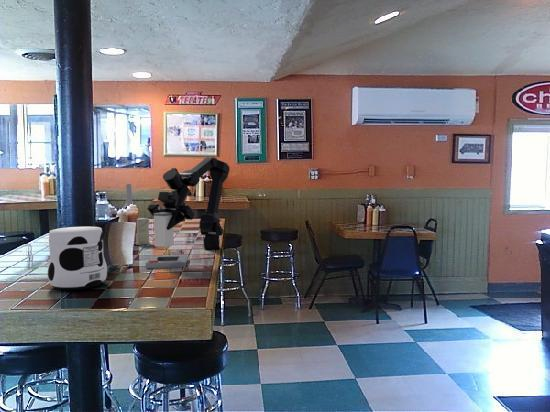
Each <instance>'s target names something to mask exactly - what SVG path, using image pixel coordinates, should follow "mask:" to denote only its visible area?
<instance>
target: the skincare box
mask: <svg viewBox="0 0 550 412" xmlns="http://www.w3.org/2000/svg"><path fill="white" fill-rule="evenodd" d="M137 218H138V219H137V233H136V243H135V244H136V246H140V245H141V246H142V245H147V244H149V245H150V227H149V225H150V224H149V223H150V222H149V218H146V217H137ZM135 244H134V245H135Z"/></svg>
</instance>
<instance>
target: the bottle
mask: <svg viewBox="0 0 550 412" xmlns="http://www.w3.org/2000/svg"><path fill="white" fill-rule="evenodd" d="M125 184H126V186H125V188H126V201H125V202H126V203H125V204H124V205H123V208H122V210H123V209H124V208H126V207H127V206H129V205H130V204H133V205H135V204H134V202H133V195H132V194H133V193H132V183H125Z"/></svg>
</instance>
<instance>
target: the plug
mask: <svg viewBox="0 0 550 412" xmlns="http://www.w3.org/2000/svg"><path fill="white" fill-rule="evenodd" d="M153 216H154V217H153ZM153 216H152V217H153V230H154V234H153V235H154V247H160V248H167V247H171V246H174V245H175V243H174V242H175V240H174V236H175V235H174V227H172V228H171V229H169V230H167V226H168V223H169V221H170V219H171V217H172V213H171V212H160V213H154V214H153Z"/></svg>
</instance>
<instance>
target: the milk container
mask: <svg viewBox="0 0 550 412" xmlns="http://www.w3.org/2000/svg"><path fill="white" fill-rule="evenodd" d="M48 242H49V245H48V248H49V249H48V250H49V263H48V267H47V278H48V279H47V281H48V283H49V285H50V286H51V287H52V288H54V289H58V290H63V291H64V290H65V291H69V290H70V291H74V290H75V291H76V290H85V289H90V288H93V287H96V286H99V285H101V284H103V283H104V282H105V281H106V279H107V277H108V265H107V262H106V260H105V256H104V234H103V229H102V227H99V226H71V227H69V226H68V227H61V228H55V229H51V230H49V232H48Z"/></svg>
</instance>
